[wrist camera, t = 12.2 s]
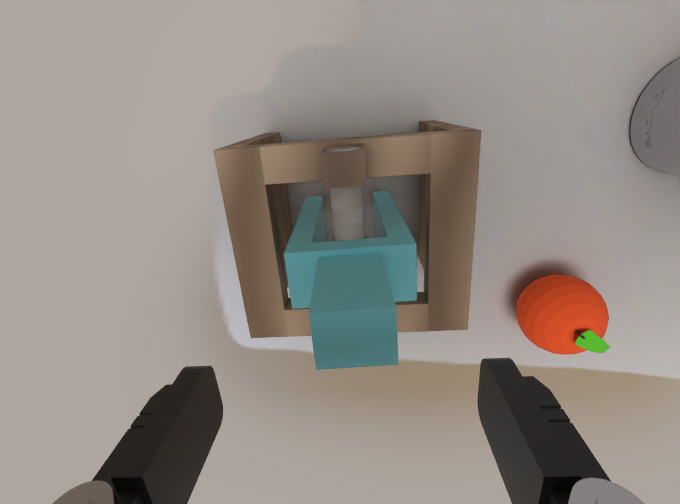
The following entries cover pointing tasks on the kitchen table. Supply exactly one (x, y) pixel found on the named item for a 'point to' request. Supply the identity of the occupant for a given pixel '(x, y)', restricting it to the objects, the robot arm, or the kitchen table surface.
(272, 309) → the wooden rod stand
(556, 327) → the clementine
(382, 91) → the kitchen table surface
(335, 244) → the teal tuning fork
